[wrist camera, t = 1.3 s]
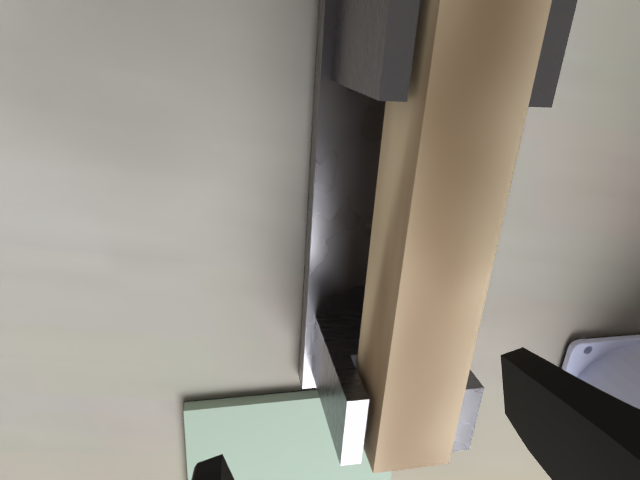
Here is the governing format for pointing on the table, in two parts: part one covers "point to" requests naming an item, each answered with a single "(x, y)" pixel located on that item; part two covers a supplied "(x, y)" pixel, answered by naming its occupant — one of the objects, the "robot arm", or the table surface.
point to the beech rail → (441, 219)
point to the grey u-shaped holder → (367, 193)
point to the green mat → (268, 438)
